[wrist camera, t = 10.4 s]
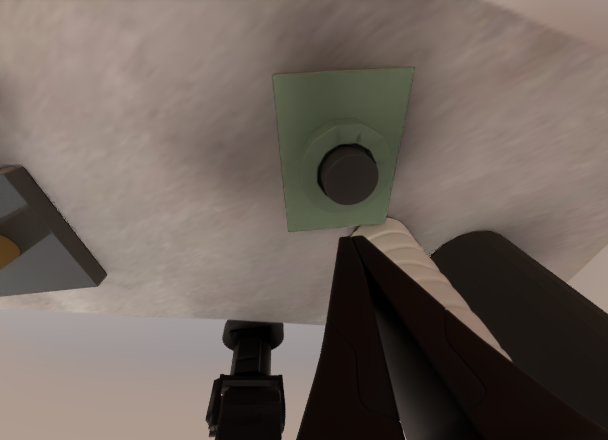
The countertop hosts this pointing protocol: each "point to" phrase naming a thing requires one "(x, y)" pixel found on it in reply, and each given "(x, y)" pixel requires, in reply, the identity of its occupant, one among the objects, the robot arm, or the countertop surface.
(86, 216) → the countertop surface
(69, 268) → the tap base
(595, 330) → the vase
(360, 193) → the dark round button
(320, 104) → the green button mount
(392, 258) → the water bottle
